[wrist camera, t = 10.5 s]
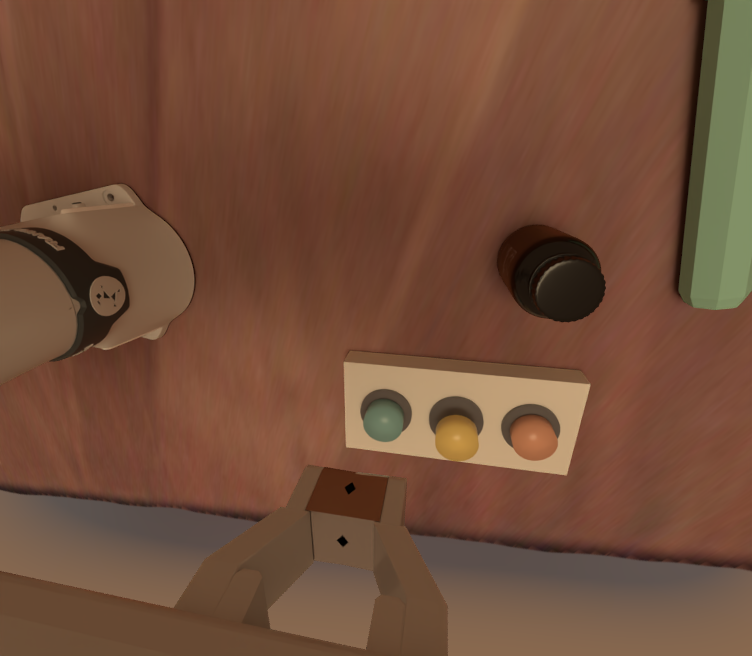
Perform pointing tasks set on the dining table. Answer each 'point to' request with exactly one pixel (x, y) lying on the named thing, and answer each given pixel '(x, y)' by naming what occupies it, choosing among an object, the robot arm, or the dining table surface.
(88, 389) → the dining table surface
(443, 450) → the mustard button
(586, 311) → the supplement bottle
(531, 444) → the terracotta button
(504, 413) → the button panel
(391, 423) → the teal button
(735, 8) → the container
